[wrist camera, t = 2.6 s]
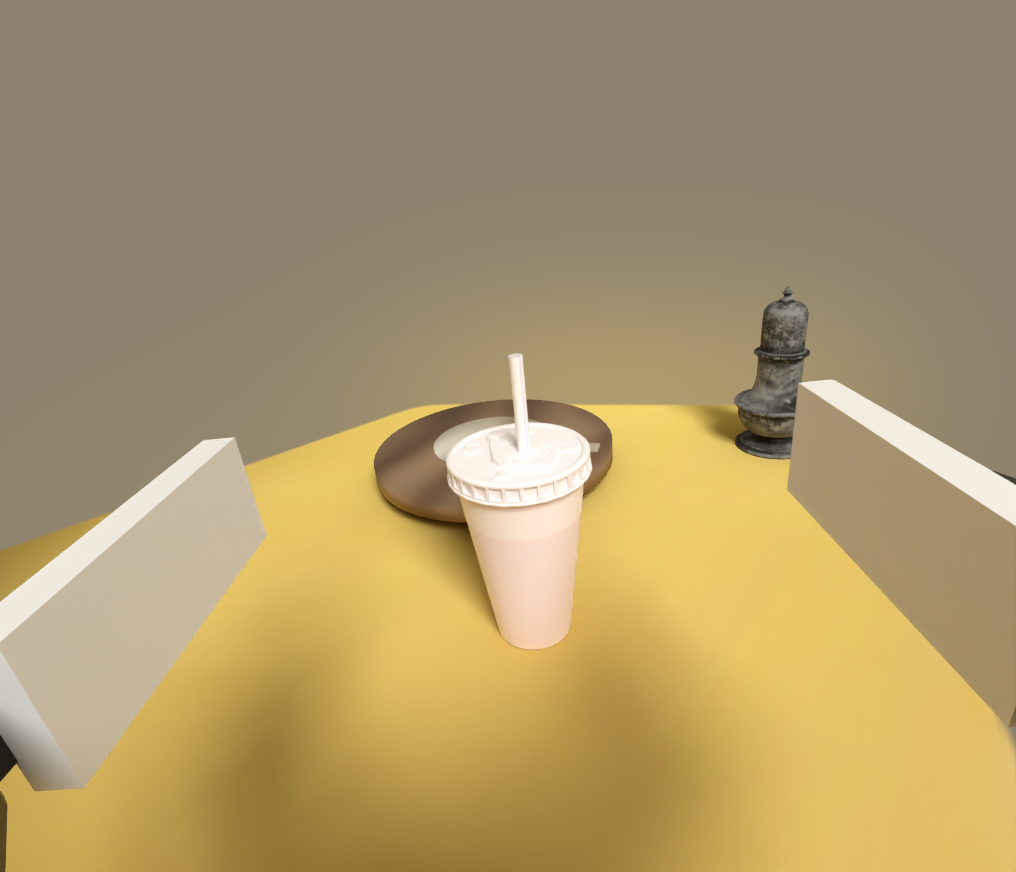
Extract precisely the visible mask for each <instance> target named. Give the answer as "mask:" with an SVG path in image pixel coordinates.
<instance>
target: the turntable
mask: <svg viewBox="0 0 1016 872" xmlns="http://www.w3.org/2000/svg"><path fill="white" fill-rule="evenodd" d="M526 401H527V413H528V422H534V423H548V424H554V425H559V426H563V427H566V428H569V429H572V430H574V431H576V432H577V433H579V434H581V435H582V436H583V437H584V438H585V439H586V440H587V441H588V443H589V445H590V459H591V463H592V471H591V473H590V476H589V478H588V479H587V480H586V481H585V482H584V486H583V494H585V493H587V492H588V491H590V490H591V489H592V488H593V487H595V486H596V485H597V484H598V483H599V482H600V481H601V480H602V479H603V478H604V477H605V476H606V474H607V472H608V471H609V469H610V467H611V463H612V435H611V432H610V429H609V428H608V426H607V425H606V424H605V423H604V422H603V421H602V420H601V419H600V418H599V417H597V416H595V415H594V414H592V413H590V412H588V411H586V410H583V409H581V408H578V407H575V406H571V405H567V404H562V403H557V402H551V401H542V400H526ZM512 423H515V417H514V407H513V400H497V401H487V402H480V403H473V404H467V405H463V406H458V407H454V408H450V409H446V410H443V411H440V412H437V413H433V414H430V415H428V416H425V417H423V418H420V419H418V420H416V421H414V422H412V423H410V424H408V425H406V426H404V427H403V428H401V429H399V430H398V431H396V432H395V433H393V434H392V435H391V436H390V437H389V438H387V439H386V440H385V441H384V442H383V444H382V445H381V446H380V447H379V449H378V451H377V453H376V455H375V459H374V469H375V473H376V478H377V482H378V486H379V489H380V491H381V493H382V494H383V495H384V497H385V498H386V499H387V500H388V501H389V502H391V503H392V504H393V505H395V506H397V507H398V508H400V509H402V510H404V511H406V512H409V513H411V514H414V515H418V516H421V517H425V518H429V519H435V520H441V521H450V522H467V521H466V518H465V515H464V511H463V508H462V504H461V500H460V497H459V495H457V494H456V493H455V492H454V491H453V490H452V489H451V488H450V486H449V485H448V480H447V474H448V470H447V466H446V457H447V454H448V453H449V451H450V450H451V449H452V447H453V446H454V445H455V444H457V443H458V442H459V441H461V440H462V439H464V438H465V437H467V436H469V435H471V434H473V433H476V432H478V431H481V430H484V429H487V428H491V427H495V426H500V425H505V424H512Z"/></svg>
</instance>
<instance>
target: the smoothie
mask: <svg viewBox="0 0 1016 872" xmlns="http://www.w3.org/2000/svg"><path fill="white" fill-rule="evenodd" d="M509 367H510V377H511V386H512V397H513V407H514V417H515V423H512V424H505V425H500V426H495V427H491V428H487V429H484V430H481V431H478V432H476V433H473V434H471V435H469V436H467V437H465V438H464V439H462V440H461V441H459V442H458V443H457V444H455V445H454V446H453V447H452V449H451V450H450V451H449V453H448V454H447V457H446V466H447V470H448V474H447V480H448V485H449V486H450V488H451V489H452V490H453V491H454V492H455V493H456V494H457V495H459V497H460V500H461V504H462V508H463V511H464V515H465V518H466V521H467V524H468V527H469V531H470V534H471V538H472V541H473V544H474V548H475V551H476V554H477V558H478V561H479V564H480V568H481V571H482V575H483V578H484V581H485V585H486V588H487V591H488V595H489V598H490V601H491V605H492V608H493V612H494V615H495V618H496V622H497V625H498V628H499V632H500V634H501V635H502V637H503V638H504V639H505V640H506V641H507V642H508V643H510V644H511V645H513V646H516V647H519V648H522V649H530V650H535V649H543V648H547V647H550V646H552V645H554V644H556V643H558V642H559V641H561V640H562V639H563V638H564V637H565V636H566V635H567V633H568V632H569V630H570V627H571V619H572V608H573V597H574V586H575V575H576V564H577V553H578V542H579V531H580V520H581V510H582V500H583V486H584V482H585V481H586V480H587V479H588V478H589V476H590V473H591V471H592V463H591V459H590V445H589V443H588V441H587V440H586V439H585V438H584V437H583V436H582V435H581V434H579V433H577V432H576V431H574V430H572V429H569V428H566V427H563V426H559V425H554V424H548V423H534V422H528V413H527V401H526V390H525V379H524V368H523V358H522V354H512V355H509Z"/></svg>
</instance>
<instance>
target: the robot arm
mask: <svg viewBox="0 0 1016 872" xmlns="http://www.w3.org/2000/svg"><path fill="white" fill-rule="evenodd" d="M787 490H788V491H789V492H790V493H791V494H792V495H793V496H794V497H795V499H796V500H797V501H798V502H799V503H800V504H801V505H802V506H803V507H804V508H805V509H806V510H807V511H808V513H809V514H810V515H811V516H812V517H813V518H814V519H815V520H816V521H817V522H818V523H819V524H820V525H821V526H822V528H823V529H824V530H825V531H826V532H827V533H828V534H829V535H830V536H831V537H832V538H833V539H834V540H835V542H836V543H837V544H838V545H839V546H840V547H841V548H842V549H843V550H844V551H845V552H846V553H847V554H848V556H849V557H850V558H851V559H852V560H853V561H854V562H855V563H856V564H857V565H858V566H859V567H860V568H861V569H862V571H863V572H864V573H865V574H866V575H867V576H868V577H869V578H870V579H871V580H872V581H873V582H874V583H875V585H876V586H877V587H878V588H879V589H880V590H881V591H882V592H883V593H884V594H885V595H886V596H887V597H888V599H889V600H890V601H891V602H892V603H893V604H894V605H895V606H896V607H897V608H898V609H899V610H900V611H901V612H902V614H903V615H904V616H905V617H906V618H907V619H908V620H909V621H910V622H911V623H912V624H913V625H914V626H915V628H916V629H917V630H918V631H919V632H920V633H921V634H922V635H923V636H924V637H925V638H926V639H927V640H928V641H929V643H930V644H931V645H932V646H933V647H934V648H935V649H936V650H937V651H938V652H939V653H940V654H941V655H942V657H943V658H944V659H945V660H946V661H947V662H948V663H949V664H950V665H951V666H952V667H953V668H954V669H955V671H956V672H957V673H958V674H959V675H960V676H961V677H962V678H963V679H964V680H965V681H966V682H967V683H968V684H969V686H970V687H971V688H972V689H973V690H974V691H975V692H976V693H977V694H978V695H979V696H980V697H981V698H982V700H983V701H984V702H985V703H986V704H987V705H988V706H989V707H990V708H991V709H992V710H993V711H994V712H995V714H996V715H997V716H998V717H999V718H1000V719H1001V720H1002V721H1003V722H1004V723H1005V724H1006V725H1007V726H1008V727H1016V479H1015V478H1012V477H1009V476H1006V475H1004V474H1001V473H998V472H995V471H991V470H989V469H987V468H986V467H984V466H982V465H980V464H979V463H977V462H975V461H973V460H972V459H970V458H968V457H966V456H965V455H963V454H961V453H960V452H958V451H956V450H954V449H953V448H951V447H949V446H947V445H945V444H944V443H942V442H941V441H939V440H937V439H935V438H934V437H932V436H930V435H928V434H927V433H925V432H923V431H922V430H920V429H918V428H916V427H915V426H913V425H911V424H909V423H908V422H906V421H904V420H902V419H901V418H899V417H897V416H896V415H894V414H892V413H890V412H889V411H887V410H885V409H883V408H882V407H880V406H878V405H876V404H875V403H873V402H871V401H870V400H868V399H866V398H864V397H863V396H860V395H859V394H857V393H856V392H854V391H852V390H850V389H848V388H847V387H845V386H844V385H842V384H840V383H838V382H837V381H835V380H823V381H813V382H802V383H798V393H797V402H796V411H795V421H794V430H793V440H792V449H791V459H790V468H789V478H788V487H787ZM265 537H266V532H265V529H264V526H263V523H262V520H261V517H260V513H259V510H258V507H257V504H256V501H255V498H254V495H253V492H252V489H251V486H250V483H249V480H248V477H247V474H246V471H245V468H244V465H243V462H242V459H241V456H240V453H239V450H238V447H237V444H236V441H235V438H234V437H233V438H224V439H212V440H203V441H202V442H201V443H199V444H198V445H197V446H196V447H194V448H193V449H192V450H191V451H189V452H188V453H187V454H186V455H184V456H183V457H182V458H180V460H178V461H177V462H175V463H174V464H173V465H172V466H170V467H169V468H168V469H167V470H165V471H164V472H163V473H162V474H160V475H159V476H158V477H157V478H155V479H154V480H153V481H152V482H150V483H149V484H148V485H147V486H145V487H144V488H143V489H141V490H140V491H139V492H138V493H137V494H135V495H134V496H133V497H131V498H130V499H129V500H128V501H127V502H125V503H124V504H123V505H121V506H120V507H119V508H118V509H116V510H115V511H114V512H113V513H111V514H110V515H109V516H108V517H106V518H105V519H104V520H103V521H101V522H100V523H99V524H97V525H96V526H95V527H94V528H92V529H91V530H90V531H89V532H87V533H86V534H85V535H84V536H82V537H81V538H80V539H79V540H77V541H76V542H75V543H74V544H72V545H71V546H70V547H69V548H67V549H66V550H65V551H64V552H62V553H61V554H60V555H58V556H57V557H56V558H55V559H53V560H52V561H51V562H50V563H48V564H47V565H46V566H45V567H43V568H42V569H41V570H40V571H38V572H37V573H36V574H35V575H33V576H32V577H31V578H29V579H28V580H27V581H26V582H24V583H23V584H22V585H21V586H19V587H18V588H17V589H16V590H14V591H13V592H12V593H11V594H9V595H8V596H7V597H6V598H4V599H3V600H2V601H1V602H0V781H1V780H2V779H3V778H4V777H5V776H6V775H7V773H8V772H9V771H10V770H11V769H12V768H13V766H14V765H15V764H17V765H18V767H19V768H20V770H21V771H22V773H23V774H24V776H25V777H26V779H27V780H28V782H29V783H30V785H31V786H32V788H33V789H34V791H45V790H60V789H75V788H85V786H86V785H87V783H88V782H89V781H90V779H91V778H92V777H93V775H94V774H95V772H96V771H97V770H98V768H99V767H100V765H101V764H102V763H103V761H104V760H105V759H106V757H107V756H108V754H109V753H110V752H111V750H112V749H113V747H114V746H115V745H116V743H117V742H118V740H119V739H120V738H121V736H122V735H123V734H124V732H125V731H126V729H127V728H128V727H129V725H130V724H131V722H132V721H133V720H134V718H135V717H136V716H137V714H138V713H139V711H140V710H141V709H142V707H143V706H144V704H145V703H146V702H147V700H148V699H149V698H150V696H151V695H152V693H153V692H154V691H155V689H156V688H157V686H158V685H159V684H160V682H161V681H162V680H163V678H164V677H165V675H166V674H167V673H168V671H169V670H170V668H171V667H172V666H173V664H174V663H175V662H176V660H177V659H178V657H179V656H180V655H181V653H182V652H183V650H184V649H185V648H186V646H187V645H188V643H189V642H190V641H191V639H192V638H193V637H194V635H195V634H196V632H197V631H198V630H199V628H200V627H201V625H202V624H203V623H204V621H205V620H206V619H207V617H208V616H209V614H210V613H211V612H212V610H213V609H214V607H215V606H216V605H217V603H218V602H219V601H220V599H221V598H222V596H223V595H224V594H225V592H226V591H227V589H228V588H229V587H230V585H231V584H232V583H233V581H234V580H235V578H236V577H237V576H238V574H239V573H240V571H241V570H242V569H243V567H244V566H245V565H246V563H247V562H248V560H249V559H250V558H251V556H252V555H253V553H254V552H255V551H256V549H257V548H258V546H259V545H260V544H261V542H262V541H263V540H264V538H265ZM6 833H7V803H6V800H5V798H4V795H3V794H2V792H1V791H0V872H5V868H6Z"/></svg>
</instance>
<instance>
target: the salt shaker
mask: <svg viewBox="0 0 1016 872" xmlns="http://www.w3.org/2000/svg"><path fill="white" fill-rule="evenodd" d="M792 293H793V292H792V290H791V289H790V287H787V288H786V289H785V290H784V292H783V294H784V297H783V298H781V299H780V300H779V301H775V302H773V303H771V304H769V305H768V306H767V307H766V308H765V310H764V313H763V323H762V334H761V345H760V347H758V348H756V349H755V350H754V353H755V354H756V355H757V356H758V367H757V377H756V380H755V383H754V386H753V388H752V389H750V390H746V391H743V392H741V393H739V394H738V395H737V396H736V397H735V400H734V403H735V404H736V405H737V407H738V414H739V417H740V419H741V422H742V423H743V425H744V426H745V427H746V428H747V429H748V430H747V431H744V432H742V433H741V434H739V435H738V436H737V437H736V441H735V443H736V445H737V447H738V448H740V449H741V450H742V451H744V452H746V453H748V454H751V455H755V456H758V457H763V458H770V459H790V458H791V449H792V440H793V430H794V421H795V411H796V402H797V393H798V383H802V372H803V364H804V358H805V357H807V356H809V354H810V351H809V350H808V349H806V348H805V339H806V331H807V323H808V314H809V313H808V308H807V307H806V306H805V305H804V304H803V303H801V302H799V301H795V299H794V298H791V294H792Z"/></svg>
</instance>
